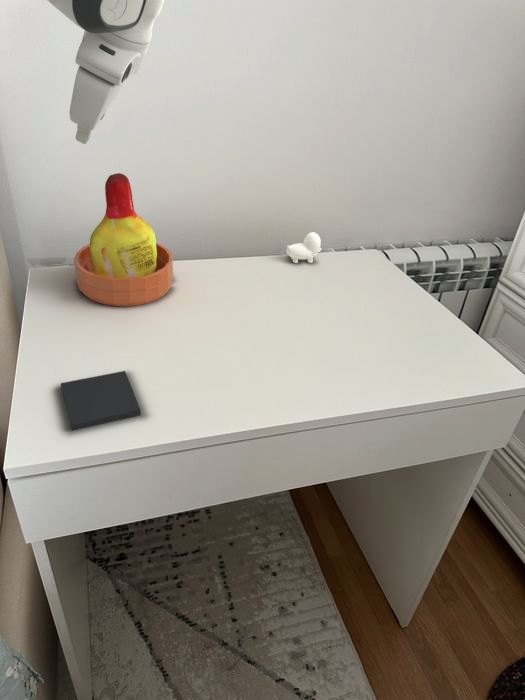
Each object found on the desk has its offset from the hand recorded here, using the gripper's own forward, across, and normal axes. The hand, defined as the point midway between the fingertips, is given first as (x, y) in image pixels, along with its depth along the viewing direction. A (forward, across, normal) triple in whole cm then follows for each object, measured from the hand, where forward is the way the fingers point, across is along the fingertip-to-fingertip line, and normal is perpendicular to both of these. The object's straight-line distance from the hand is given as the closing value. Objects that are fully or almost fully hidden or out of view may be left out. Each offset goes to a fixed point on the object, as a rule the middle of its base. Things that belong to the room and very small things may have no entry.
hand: (89, 128), depth 87 cm
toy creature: (+11, -11, +47) cm, 50 cm away
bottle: (+22, +6, +15) cm, 27 cm away
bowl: (+22, +6, +15) cm, 28 cm away
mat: (+15, +40, +17) cm, 46 cm away
